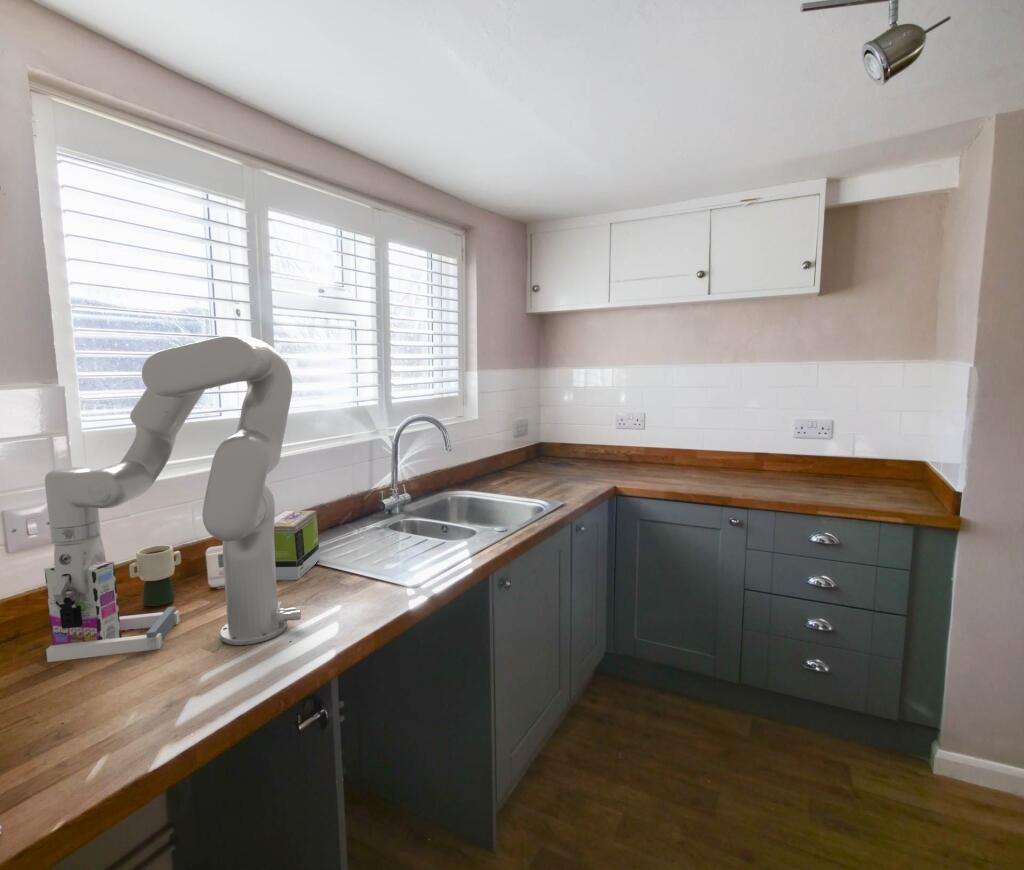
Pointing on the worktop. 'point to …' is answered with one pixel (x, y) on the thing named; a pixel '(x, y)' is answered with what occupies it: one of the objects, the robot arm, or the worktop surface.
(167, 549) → the character mug
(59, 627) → the candy bar box
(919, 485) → the worktop surface
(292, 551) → the tea box
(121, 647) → the channel
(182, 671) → the worktop surface
